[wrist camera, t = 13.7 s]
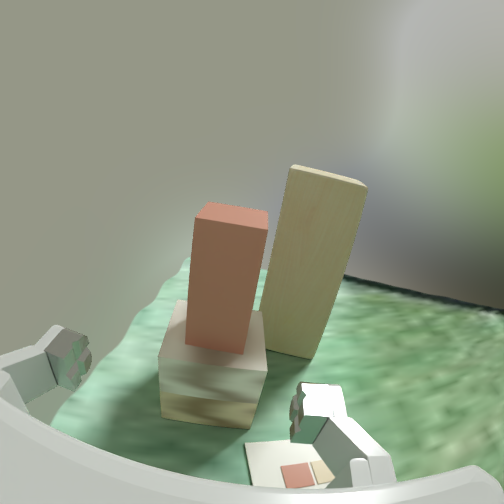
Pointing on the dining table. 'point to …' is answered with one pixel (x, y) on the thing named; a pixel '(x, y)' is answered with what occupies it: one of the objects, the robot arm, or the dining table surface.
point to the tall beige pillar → (309, 258)
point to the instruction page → (286, 465)
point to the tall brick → (224, 275)
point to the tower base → (211, 376)
